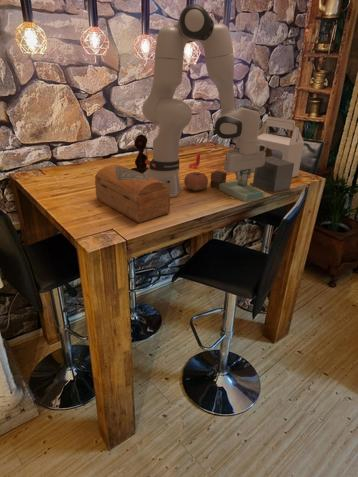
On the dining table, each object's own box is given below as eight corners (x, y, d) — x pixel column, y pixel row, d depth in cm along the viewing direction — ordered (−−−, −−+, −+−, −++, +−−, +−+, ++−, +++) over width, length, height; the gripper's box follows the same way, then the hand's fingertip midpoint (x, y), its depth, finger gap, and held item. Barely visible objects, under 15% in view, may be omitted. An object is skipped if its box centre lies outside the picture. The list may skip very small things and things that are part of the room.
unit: (273, 195, 157) (277, 166, 151) (249, 184, 169) (252, 158, 164) (292, 191, 163) (297, 163, 157) (268, 181, 175) (272, 155, 169)
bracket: (191, 163, 201) (192, 149, 198) (199, 164, 201) (200, 150, 197) (188, 169, 191) (189, 154, 187) (196, 170, 190) (197, 155, 187)
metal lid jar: (241, 187, 154) (243, 171, 150) (235, 184, 157) (237, 169, 154) (249, 185, 156) (251, 170, 152) (243, 183, 159) (244, 167, 156)
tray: (244, 202, 148) (245, 195, 147) (219, 189, 162) (219, 183, 161) (264, 198, 153) (264, 191, 152) (237, 186, 167) (238, 180, 166)
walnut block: (218, 189, 162) (219, 174, 159) (210, 187, 165) (211, 172, 162) (225, 187, 165) (226, 172, 162) (217, 184, 168) (218, 170, 165)
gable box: (249, 170, 192) (255, 116, 179) (263, 166, 200) (271, 114, 187) (284, 180, 177) (293, 122, 165) (298, 175, 185) (308, 120, 172)
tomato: (209, 187, 165) (210, 170, 161) (204, 194, 156) (205, 177, 152) (187, 184, 167) (188, 168, 164) (181, 191, 158) (181, 174, 155)
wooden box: (172, 213, 136) (173, 178, 130) (137, 223, 127) (135, 186, 120) (129, 192, 157) (128, 161, 150) (96, 199, 147) (93, 167, 141)
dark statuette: (155, 181, 170) (155, 139, 161) (125, 181, 170) (123, 138, 161) (157, 172, 183) (157, 133, 174) (128, 172, 183) (127, 132, 174)
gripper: (231, 151, 141) (228, 184, 148) (269, 146, 151) (265, 177, 157) (222, 148, 146) (219, 180, 153) (259, 143, 156) (255, 173, 162)
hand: (243, 179), depth 155 cm, fingers closed on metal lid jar, 4 cm apart
